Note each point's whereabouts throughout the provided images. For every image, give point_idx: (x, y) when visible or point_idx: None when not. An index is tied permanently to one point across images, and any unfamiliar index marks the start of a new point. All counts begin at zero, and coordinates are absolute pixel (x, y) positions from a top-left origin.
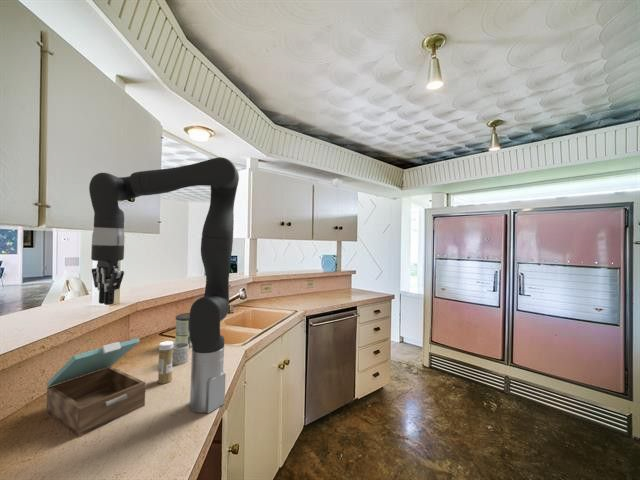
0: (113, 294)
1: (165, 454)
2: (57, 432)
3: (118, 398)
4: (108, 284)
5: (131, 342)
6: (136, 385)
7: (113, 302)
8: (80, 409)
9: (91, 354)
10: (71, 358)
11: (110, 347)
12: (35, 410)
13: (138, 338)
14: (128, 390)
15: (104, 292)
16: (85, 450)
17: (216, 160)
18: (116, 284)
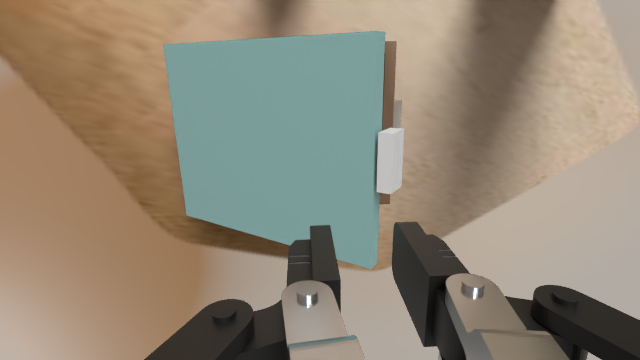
0: (466, 273)
1: (574, 117)
2: None
3: (399, 123)
4: (345, 331)
5: (382, 72)
6: (391, 68)
7: (415, 224)
8: (389, 202)
9: (378, 219)
10: (348, 261)
11: (396, 167)
12: (183, 199)
13: (379, 35)
14: (393, 93)
15: (426, 343)
16: (428, 190)
17: None
18: (579, 342)
